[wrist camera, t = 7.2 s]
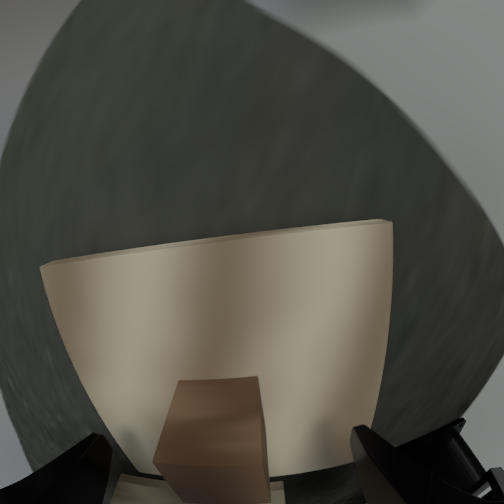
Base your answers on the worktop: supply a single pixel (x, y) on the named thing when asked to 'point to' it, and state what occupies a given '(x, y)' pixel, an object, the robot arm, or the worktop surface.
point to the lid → (231, 351)
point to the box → (166, 492)
